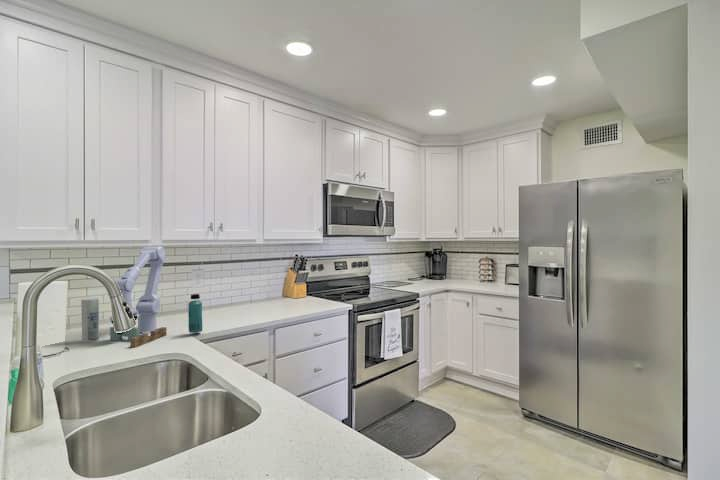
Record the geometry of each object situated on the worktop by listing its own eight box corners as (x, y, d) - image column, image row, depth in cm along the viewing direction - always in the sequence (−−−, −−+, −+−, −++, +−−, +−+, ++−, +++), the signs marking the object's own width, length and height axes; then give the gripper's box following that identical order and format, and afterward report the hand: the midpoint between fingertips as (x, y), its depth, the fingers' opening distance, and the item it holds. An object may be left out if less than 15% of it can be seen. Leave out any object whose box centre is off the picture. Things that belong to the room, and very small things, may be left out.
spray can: (90, 338, 174) (90, 297, 174) (102, 339, 173) (101, 297, 173) (78, 342, 168) (77, 299, 167) (90, 343, 167) (89, 299, 166)
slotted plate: (110, 340, 171) (110, 327, 171) (113, 338, 173) (113, 326, 173) (136, 341, 169) (136, 328, 169) (139, 340, 171) (139, 327, 171)
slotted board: (135, 347, 159) (135, 338, 159) (130, 347, 159) (130, 338, 159) (166, 335, 179) (166, 327, 179) (162, 335, 179) (162, 327, 179)
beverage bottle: (198, 331, 184) (198, 292, 184) (205, 334, 180) (204, 294, 180) (186, 334, 179) (185, 294, 179) (192, 336, 175) (191, 295, 175)
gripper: (129, 301, 179) (129, 328, 179) (103, 307, 164) (104, 336, 164) (141, 301, 178) (142, 329, 178) (117, 307, 163) (117, 337, 163)
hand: (124, 332), depth 171 cm, fingers open, 5 cm apart
